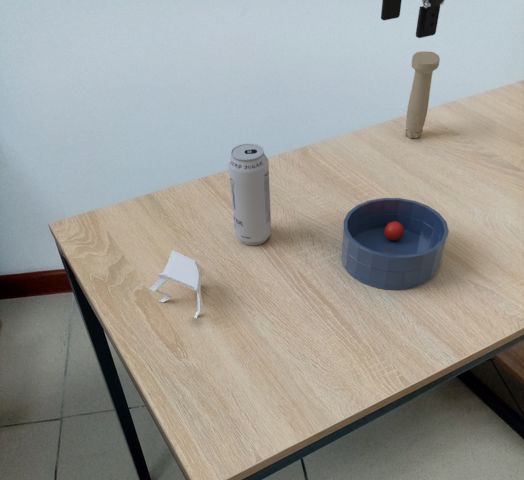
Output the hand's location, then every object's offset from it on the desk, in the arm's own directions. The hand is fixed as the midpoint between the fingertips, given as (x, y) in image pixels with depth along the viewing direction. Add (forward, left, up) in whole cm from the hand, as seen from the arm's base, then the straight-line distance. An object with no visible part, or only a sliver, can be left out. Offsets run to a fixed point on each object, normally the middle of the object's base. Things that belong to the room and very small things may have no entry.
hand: (407, 27), depth 83 cm
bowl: (+16, +21, -25) cm, 36 cm away
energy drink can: (+31, +4, -25) cm, 40 cm away
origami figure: (+47, +12, -25) cm, 55 cm away
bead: (+14, +18, -22) cm, 32 cm away
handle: (-14, -8, -25) cm, 29 cm away
